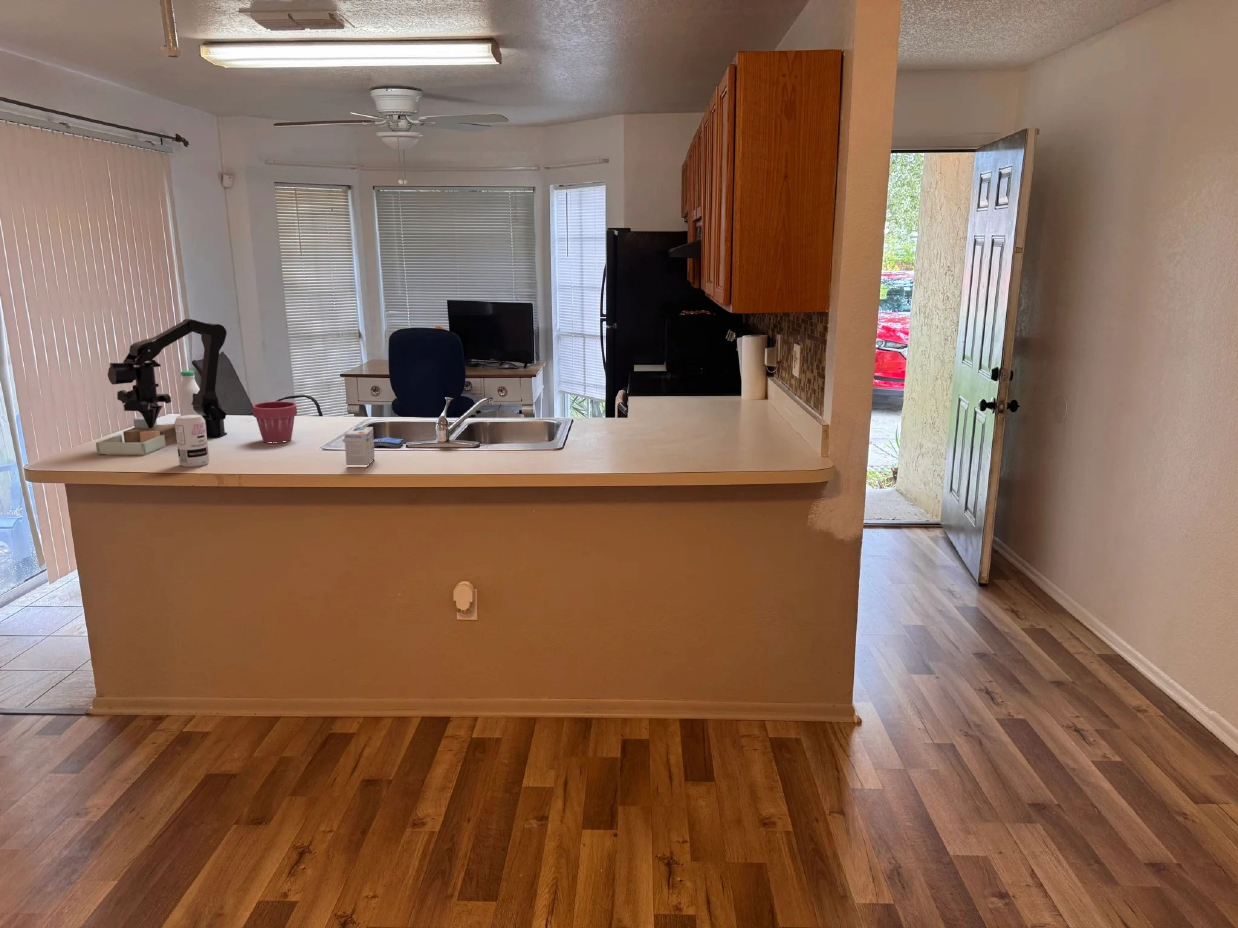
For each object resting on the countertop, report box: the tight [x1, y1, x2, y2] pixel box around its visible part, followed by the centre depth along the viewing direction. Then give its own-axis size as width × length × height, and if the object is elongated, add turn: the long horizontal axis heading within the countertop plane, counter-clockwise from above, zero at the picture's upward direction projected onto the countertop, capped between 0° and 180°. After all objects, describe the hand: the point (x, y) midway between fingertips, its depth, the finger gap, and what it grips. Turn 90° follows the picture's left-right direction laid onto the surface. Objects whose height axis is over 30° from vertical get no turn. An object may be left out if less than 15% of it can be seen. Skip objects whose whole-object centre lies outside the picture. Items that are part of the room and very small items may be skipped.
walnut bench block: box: [122, 424, 177, 447], centre depth 287 cm, size 13×12×5 cm
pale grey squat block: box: [133, 416, 158, 428], centre depth 288 cm, size 5×5×3 cm
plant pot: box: [252, 400, 298, 444], centre depth 291 cm, size 14×14×13 cm
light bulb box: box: [344, 426, 375, 466], centre depth 261 cm, size 11×7×11 cm, turn 4°
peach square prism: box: [140, 431, 160, 443], centre depth 279 cm, size 5×5×3 cm
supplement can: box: [174, 414, 210, 468], centre depth 257 cm, size 8×8×15 cm
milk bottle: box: [178, 370, 200, 416], centre depth 318 cm, size 8×8×20 cm
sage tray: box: [95, 434, 167, 457], centre depth 275 cm, size 15×13×4 cm
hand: (150, 427), depth 281 cm, fingers closed
